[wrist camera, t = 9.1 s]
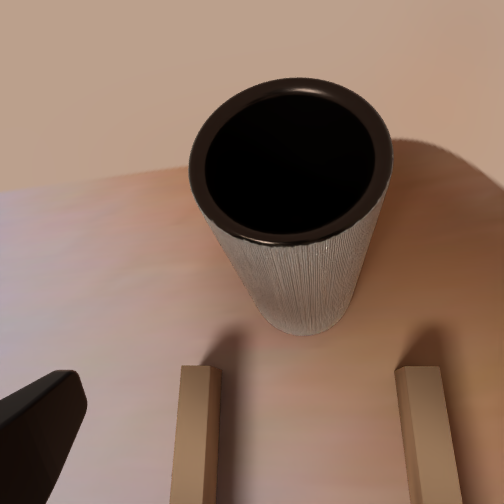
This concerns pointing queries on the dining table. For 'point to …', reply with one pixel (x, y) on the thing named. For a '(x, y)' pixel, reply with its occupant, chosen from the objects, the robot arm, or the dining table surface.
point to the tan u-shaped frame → (412, 424)
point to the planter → (294, 194)
